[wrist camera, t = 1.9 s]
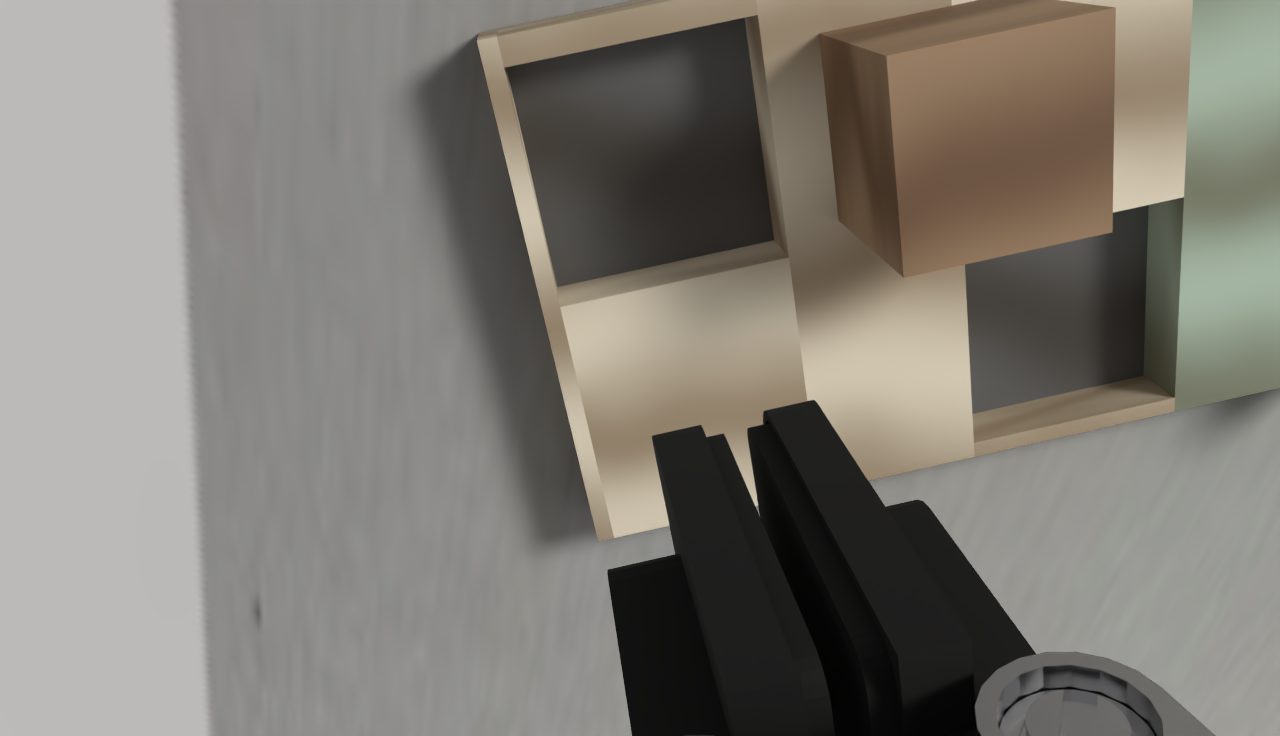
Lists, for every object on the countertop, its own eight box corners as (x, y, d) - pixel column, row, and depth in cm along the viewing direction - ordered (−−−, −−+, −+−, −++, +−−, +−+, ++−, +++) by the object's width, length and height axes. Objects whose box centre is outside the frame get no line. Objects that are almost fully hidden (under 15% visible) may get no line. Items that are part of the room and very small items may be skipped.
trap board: (478, 32, 26) (473, 52, 22) (1415, -161, 27) (1575, -177, 23) (593, 507, 33) (605, 590, 29) (1352, 337, 33) (1470, 394, 29)
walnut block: (819, 33, 25) (886, 55, 21) (1008, -7, 26) (1115, 7, 21) (838, 220, 28) (903, 277, 23) (1013, 182, 28) (1112, 232, 23)
